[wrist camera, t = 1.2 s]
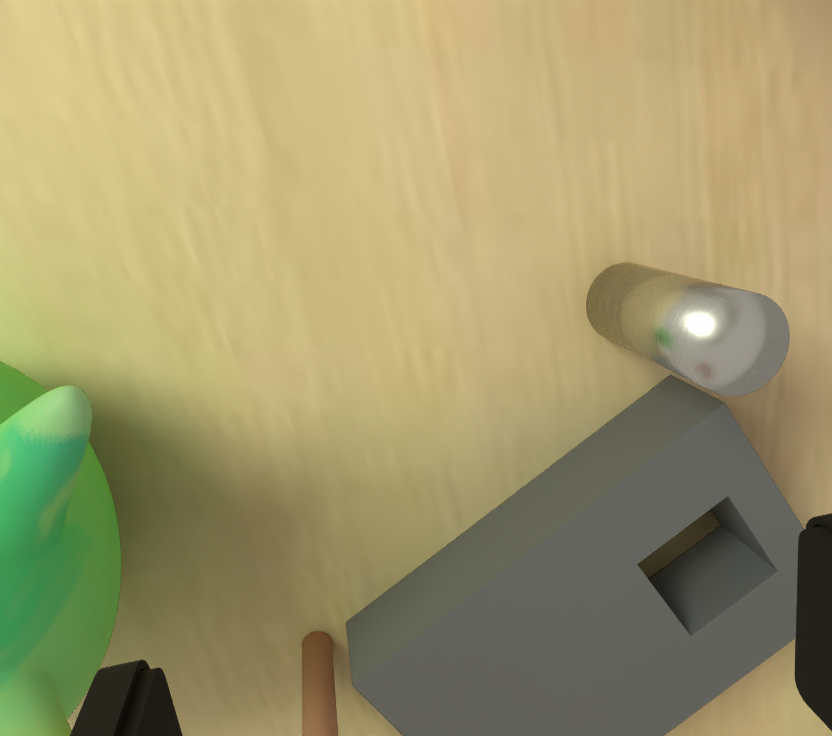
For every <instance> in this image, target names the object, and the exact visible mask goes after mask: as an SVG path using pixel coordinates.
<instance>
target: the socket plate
mask: <svg viewBox="0 0 832 736" xmlns="http://www.w3.org/2000/svg"><path fill="white" fill-rule="evenodd" d="M709 510H711V511H712V513H713V514H714V516H715V517H716V519H717V520H718V521H719V523H720V524H721V526H719V527H718V528H717V529H715V530H714V531H713V532H711V533H710V534H709V535H707V536H706V537H705V538H703V539H702V540H701V541H699V542H698V543H697V544H695V545H694V546H693V547H691V548H690V549H689V550H687V551H686V552H685V553H683V554H682V555H681V556H679V557H678V558H677V559H675V560H674V561H673V562H671V563H670V564H669V565H667V566H666V567H665V568H663V569H662V570H661V571H659V572H658V573H657V574H655V575H654V576H653V577H651V578H650V579H649V580H648V578H647V577H646V576H645V574H644V573H643V572H642V570H641V569H640V568H639V566H638V565H637V564H638V563H640V562H641V561H642V560H644V559H645V558H646V557H648V556H649V555H650V554H652V553H653V552H654V551H656V550H657V549H658V548H660V547H661V546H662V545H664V544H665V543H666V542H668V541H669V540H670V539H672V538H673V537H674V536H676V535H677V534H678V533H679V532H681V531H682V530H683V529H685V528H686V527H687V526H689V525H690V524H691V523H693V522H694V521H695V520H697V519H698V518H699V517H701V516H702V515H703V514H705V513H706V512H707V511H709ZM803 530H804V529H803V527H802V525H801V524H800V522H799V521H798V519H797V517H796V516H795V514H794V513H793V511H792V509H791V508H790V506H789V505H788V503H787V501H786V500H785V498H784V497H783V495H782V493H781V492H780V490H779V489H778V487H777V485H776V484H775V482H774V481H773V479H772V477H771V476H770V474H769V473H768V471H767V469H766V468H765V466H764V465H763V463H762V461H761V460H760V458H759V457H758V455H757V453H756V452H755V450H754V449H753V447H752V445H751V444H750V442H749V441H748V439H747V437H746V436H745V434H744V433H743V431H742V429H741V428H740V426H739V425H738V423H737V421H736V420H735V418H734V417H733V415H732V413H731V412H730V410H729V409H728V407H727V405H726V404H725V403H724V402H722V401H720V400H718V399H716V398H714V397H712V396H710V395H708V394H706V393H705V392H703V391H701V390H699V389H697V388H695V387H693V386H691V385H689V384H687V383H685V382H683V381H681V380H679V379H677V378H676V377H674V376H672V375H670V376H669V377H667V378H666V379H665V380H663V381H662V382H661V383H659V384H658V385H657V386H655V387H654V388H653V389H651V390H650V391H649V392H648V393H646V394H645V395H644V396H642V397H641V398H640V399H638V400H637V401H636V402H634V403H633V404H632V405H630V406H629V407H628V408H627V409H625V410H624V411H623V412H621V413H620V414H619V415H617V416H616V417H615V418H613V419H612V420H611V421H609V422H608V423H607V424H606V425H604V426H603V427H602V428H600V429H599V430H598V431H596V432H595V433H594V434H592V435H591V436H590V437H589V438H587V439H586V440H585V441H583V442H582V443H581V444H579V445H578V446H577V447H575V448H574V449H573V450H571V451H570V452H569V453H568V454H566V455H565V456H564V457H562V458H561V459H560V460H558V461H557V462H556V463H554V464H553V465H552V466H550V467H549V468H548V469H547V470H545V471H544V472H543V473H541V474H540V475H539V476H537V477H536V478H535V479H533V480H532V481H531V482H529V483H528V484H527V485H526V486H524V487H523V488H522V489H520V490H519V491H518V492H516V493H515V494H514V495H512V496H511V497H510V498H508V499H507V500H506V501H505V502H503V503H502V504H501V505H499V506H498V507H497V508H495V509H494V510H493V511H491V512H490V513H489V514H488V515H486V516H485V517H484V518H482V519H481V520H480V521H478V522H477V523H476V524H474V525H473V526H472V527H470V528H469V529H468V530H467V531H465V532H464V533H463V534H461V535H460V536H459V537H457V538H456V539H455V540H453V541H452V542H451V543H449V544H448V545H447V546H446V547H444V548H443V549H442V550H440V551H439V552H438V553H436V554H435V555H434V556H432V557H431V558H430V559H428V560H427V561H426V562H425V563H423V564H422V565H421V566H419V567H418V568H417V569H415V570H414V571H413V572H411V573H410V574H409V575H407V576H406V577H405V578H404V579H402V580H401V581H400V582H398V583H397V584H396V585H394V586H393V587H392V588H390V589H389V590H388V591H387V592H385V593H384V594H383V595H381V596H380V597H379V598H377V599H376V600H375V601H373V602H372V603H371V604H369V605H368V606H367V607H366V608H364V609H363V610H362V611H360V612H359V613H358V614H356V615H355V616H354V617H352V618H351V619H350V620H348V621H347V622H346V628H347V638H348V647H349V657H350V666H351V676H352V685H353V687H354V688H355V689H356V690H357V691H358V692H359V693H360V694H361V695H362V696H363V697H364V698H365V699H366V700H367V701H368V702H369V703H370V704H371V705H372V706H373V707H374V708H375V709H376V710H377V711H379V712H380V713H381V714H382V715H383V716H384V717H385V718H386V719H387V720H388V721H389V722H390V723H391V724H392V725H393V726H394V727H395V728H396V729H397V730H398V731H399V732H400V733H401V734H402V735H403V736H664V735H665V734H667V733H668V732H669V731H671V730H672V729H674V728H675V727H676V726H678V725H679V724H680V723H682V722H683V721H684V720H686V719H687V718H688V717H690V716H691V715H692V714H694V713H695V712H696V711H698V710H699V709H700V708H702V707H703V706H704V705H706V704H707V703H708V702H710V701H711V700H713V699H714V698H715V697H717V696H718V695H719V694H721V693H722V692H723V691H725V690H726V689H727V688H729V687H730V686H731V685H733V684H734V683H735V682H737V681H738V680H739V679H741V678H742V677H743V676H745V675H746V674H748V673H749V672H750V671H752V670H753V669H754V668H756V667H757V666H758V665H760V664H761V663H762V662H764V661H765V660H766V659H768V658H769V657H770V656H772V655H773V654H774V653H776V652H777V651H778V650H780V649H781V648H783V647H784V646H785V645H787V644H788V643H789V642H791V641H792V640H793V639H795V638H796V607H797V569H798V539H799V534H800V533H801V531H803Z"/></svg>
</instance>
